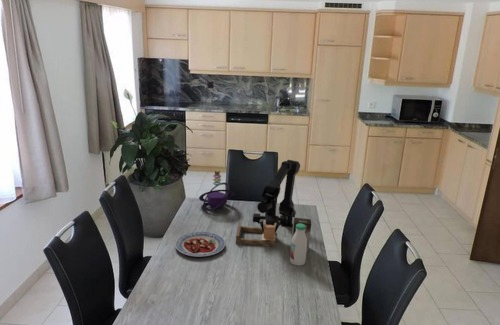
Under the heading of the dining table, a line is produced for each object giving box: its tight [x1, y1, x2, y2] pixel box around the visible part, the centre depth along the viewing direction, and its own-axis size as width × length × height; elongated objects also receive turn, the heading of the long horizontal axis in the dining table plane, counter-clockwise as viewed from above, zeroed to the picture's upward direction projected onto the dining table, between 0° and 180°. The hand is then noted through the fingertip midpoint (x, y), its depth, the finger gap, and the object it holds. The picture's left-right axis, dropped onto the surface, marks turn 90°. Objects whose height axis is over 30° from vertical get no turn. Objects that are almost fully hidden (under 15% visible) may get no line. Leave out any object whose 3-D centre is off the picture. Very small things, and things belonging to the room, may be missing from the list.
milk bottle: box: [289, 223, 307, 267], centre depth 186 cm, size 8×8×20 cm
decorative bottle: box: [198, 169, 235, 212], centre depth 245 cm, size 22×21×25 cm
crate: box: [262, 221, 276, 240], centre depth 210 cm, size 6×8×6 cm
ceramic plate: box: [174, 231, 226, 258], centre depth 199 cm, size 26×26×3 cm
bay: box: [235, 222, 276, 247], centre depth 211 cm, size 21×16×4 cm
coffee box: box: [290, 216, 312, 253], centre depth 200 cm, size 9×6×16 cm
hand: (269, 232), depth 210 cm, fingers closed on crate, 6 cm apart
